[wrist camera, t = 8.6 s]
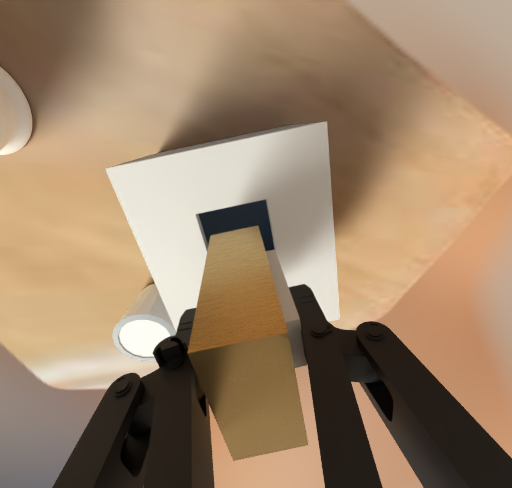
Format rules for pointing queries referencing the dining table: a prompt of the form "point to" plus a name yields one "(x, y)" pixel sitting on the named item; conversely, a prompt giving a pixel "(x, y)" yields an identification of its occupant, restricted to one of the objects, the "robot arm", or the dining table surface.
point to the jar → (13, 115)
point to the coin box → (234, 209)
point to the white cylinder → (143, 326)
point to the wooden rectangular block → (245, 349)
